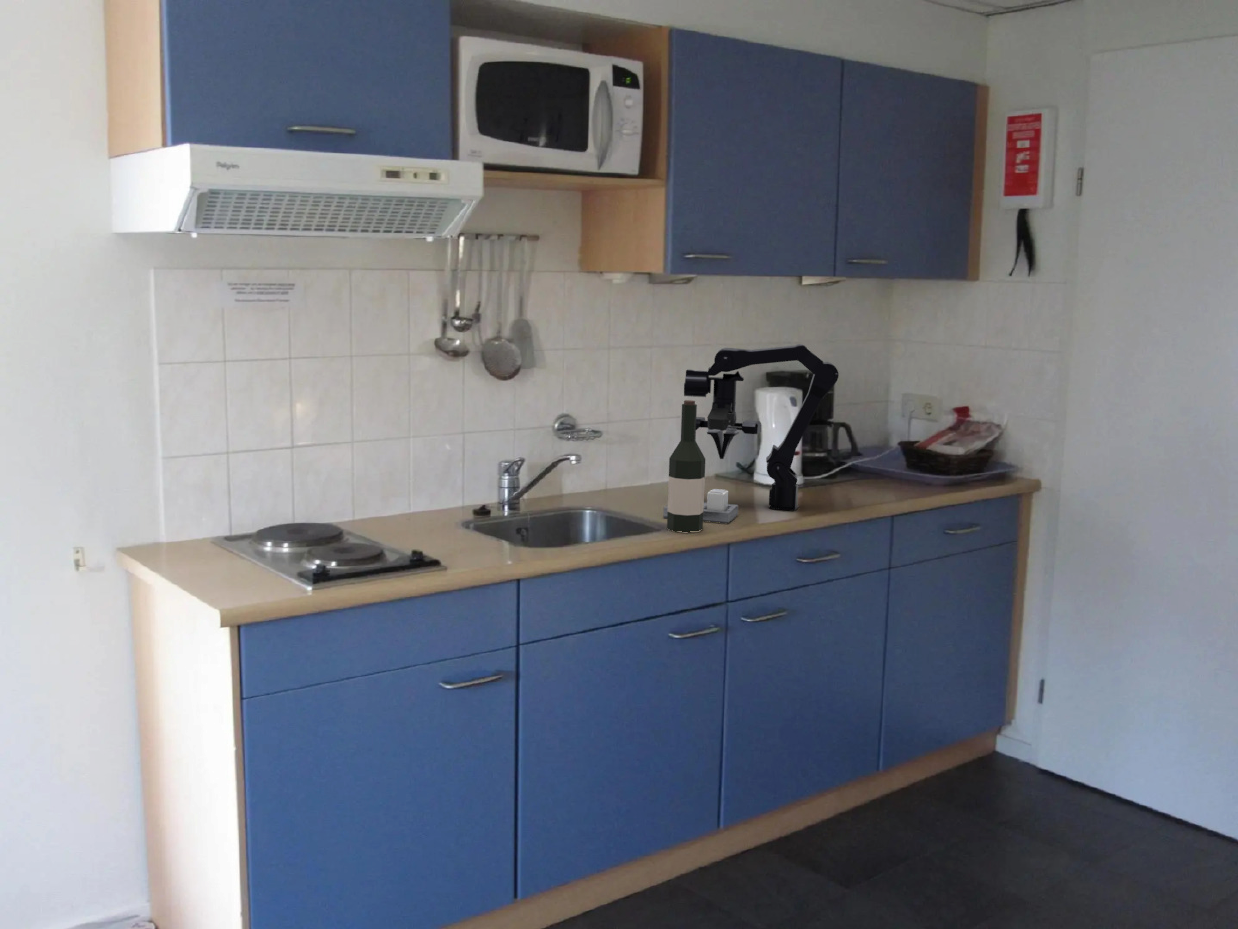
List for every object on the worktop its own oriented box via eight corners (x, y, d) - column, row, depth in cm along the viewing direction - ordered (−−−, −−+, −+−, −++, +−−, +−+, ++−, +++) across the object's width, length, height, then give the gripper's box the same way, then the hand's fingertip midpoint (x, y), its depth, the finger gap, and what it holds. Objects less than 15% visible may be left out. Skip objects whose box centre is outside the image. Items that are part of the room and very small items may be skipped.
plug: (727, 515, 298) (728, 489, 297) (722, 518, 293) (723, 493, 292) (711, 513, 299) (712, 488, 298) (706, 517, 294) (707, 491, 293)
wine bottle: (687, 534, 277) (692, 403, 272) (659, 528, 282) (663, 400, 278) (710, 529, 283) (715, 401, 278) (682, 523, 289) (687, 397, 284)
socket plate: (737, 515, 300) (738, 502, 300) (727, 524, 290) (728, 510, 289) (675, 509, 305) (675, 497, 304) (663, 518, 295) (663, 505, 294)
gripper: (680, 398, 303) (678, 460, 306) (754, 403, 298) (751, 466, 300) (691, 394, 314) (689, 454, 316) (763, 399, 308) (760, 459, 311)
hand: (721, 458), depth 311 cm, fingers closed
